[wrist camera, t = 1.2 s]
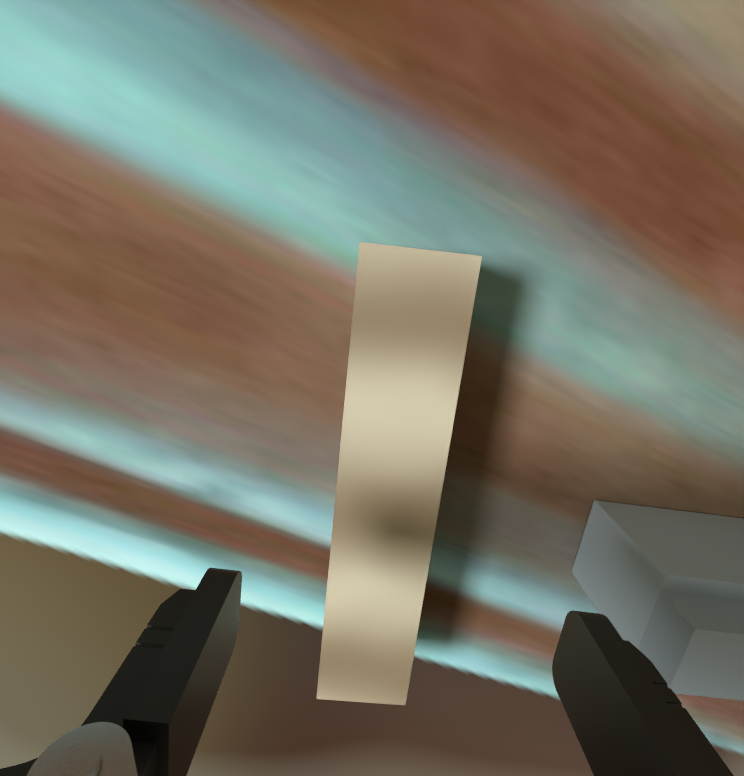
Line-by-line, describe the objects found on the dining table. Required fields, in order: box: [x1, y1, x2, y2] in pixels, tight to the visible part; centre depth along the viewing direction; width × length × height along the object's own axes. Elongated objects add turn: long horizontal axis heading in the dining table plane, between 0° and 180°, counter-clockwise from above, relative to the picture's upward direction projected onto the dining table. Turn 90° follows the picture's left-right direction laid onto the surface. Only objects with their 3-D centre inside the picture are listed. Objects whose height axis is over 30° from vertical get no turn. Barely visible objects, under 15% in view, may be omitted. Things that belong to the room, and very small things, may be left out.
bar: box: [317, 242, 482, 705], centre depth 16 cm, size 17×4×4 cm, turn 174°
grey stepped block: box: [572, 500, 744, 701], centre depth 15 cm, size 4×8×6 cm, turn 82°
